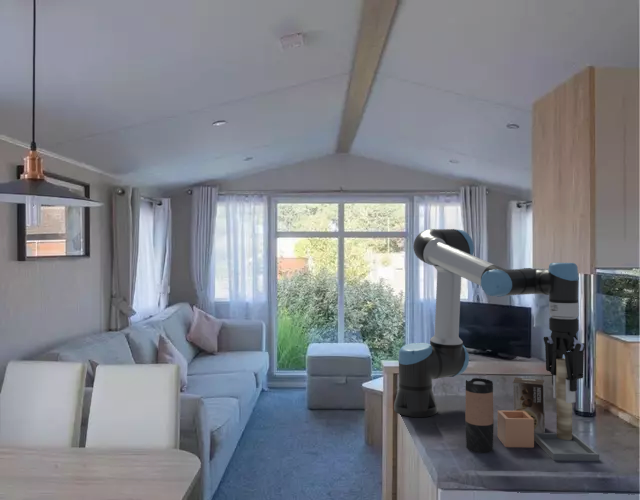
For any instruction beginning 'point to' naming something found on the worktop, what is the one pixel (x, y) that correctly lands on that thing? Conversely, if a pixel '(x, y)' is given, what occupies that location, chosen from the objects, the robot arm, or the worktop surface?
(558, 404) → the dowel
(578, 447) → the tray
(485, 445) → the travel mug
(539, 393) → the coffee box
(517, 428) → the pot
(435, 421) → the worktop surface
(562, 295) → the robot arm
